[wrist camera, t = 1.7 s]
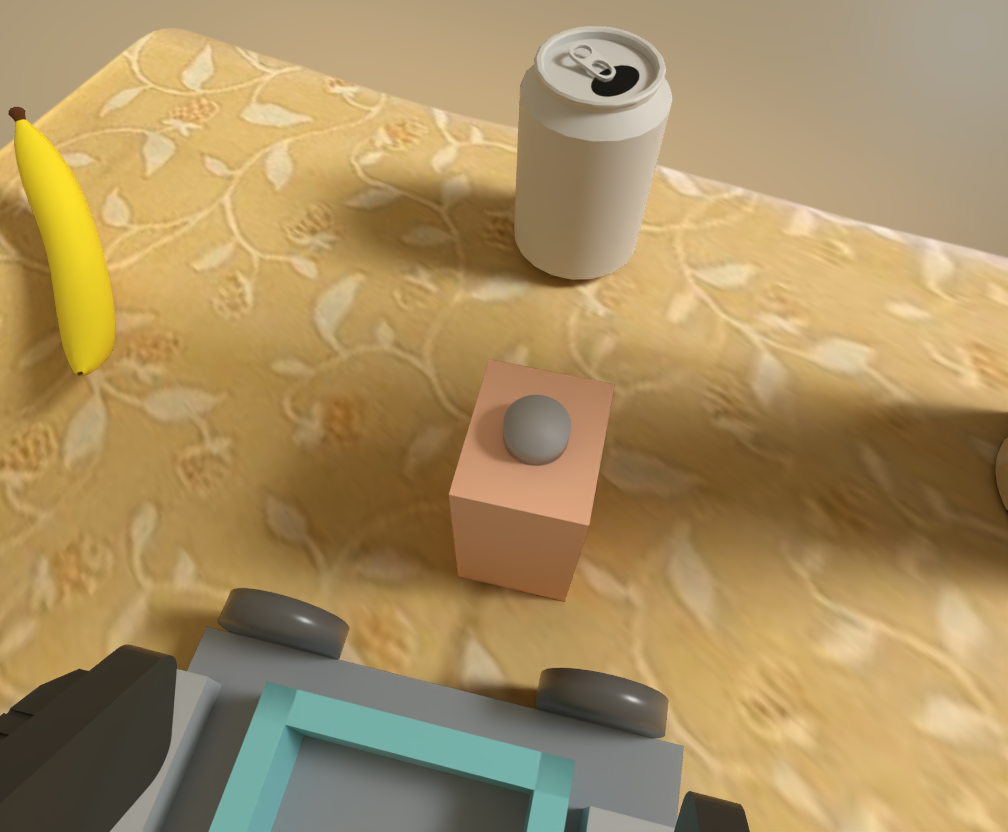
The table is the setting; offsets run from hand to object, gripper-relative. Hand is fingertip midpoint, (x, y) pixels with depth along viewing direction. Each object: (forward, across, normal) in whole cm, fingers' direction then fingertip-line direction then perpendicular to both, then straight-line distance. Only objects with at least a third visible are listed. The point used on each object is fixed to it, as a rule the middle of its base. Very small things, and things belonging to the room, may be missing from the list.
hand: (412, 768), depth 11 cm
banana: (+28, +27, 0) cm, 39 cm away
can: (+36, +1, -8) cm, 37 cm away
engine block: (+22, 0, +5) cm, 23 cm away
